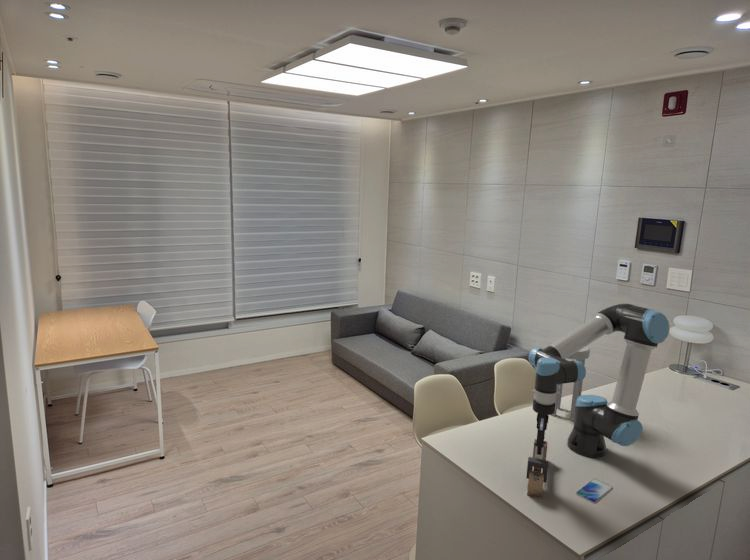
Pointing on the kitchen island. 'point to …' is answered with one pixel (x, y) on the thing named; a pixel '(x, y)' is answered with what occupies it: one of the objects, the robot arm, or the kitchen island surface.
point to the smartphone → (594, 490)
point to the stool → (577, 387)
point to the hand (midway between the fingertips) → (538, 460)
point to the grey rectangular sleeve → (537, 463)
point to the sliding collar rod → (536, 477)
